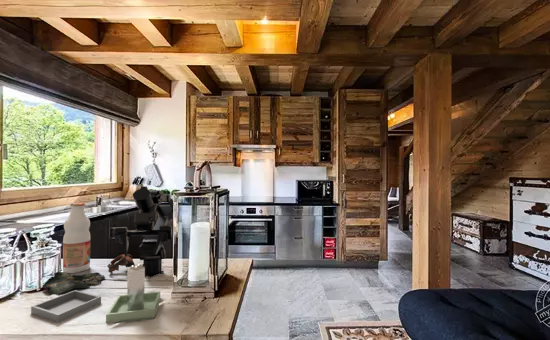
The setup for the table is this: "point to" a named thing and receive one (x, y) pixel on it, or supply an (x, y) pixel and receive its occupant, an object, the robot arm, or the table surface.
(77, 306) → the tray
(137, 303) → the pebble canister
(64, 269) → the fruit juice
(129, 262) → the brown arched figure
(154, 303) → the tray
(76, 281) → the decorative rock
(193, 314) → the table surface
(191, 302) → the table surface
